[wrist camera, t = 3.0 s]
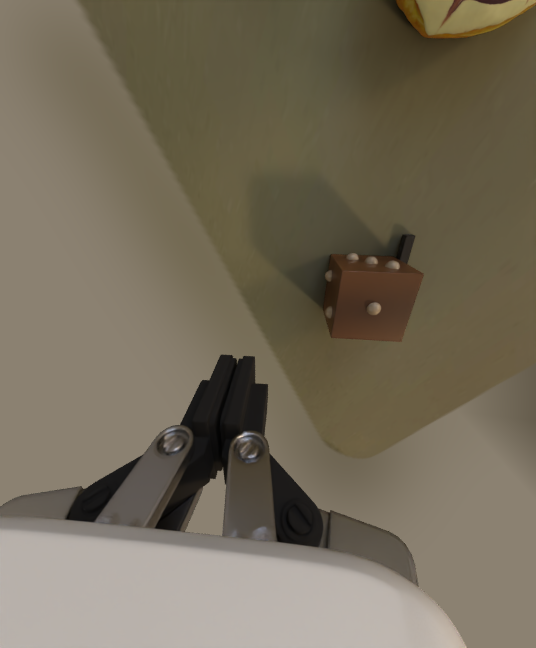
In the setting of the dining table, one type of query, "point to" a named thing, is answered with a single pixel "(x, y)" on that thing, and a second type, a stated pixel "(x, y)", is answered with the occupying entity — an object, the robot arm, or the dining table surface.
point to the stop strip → (405, 248)
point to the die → (369, 296)
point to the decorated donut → (461, 15)
